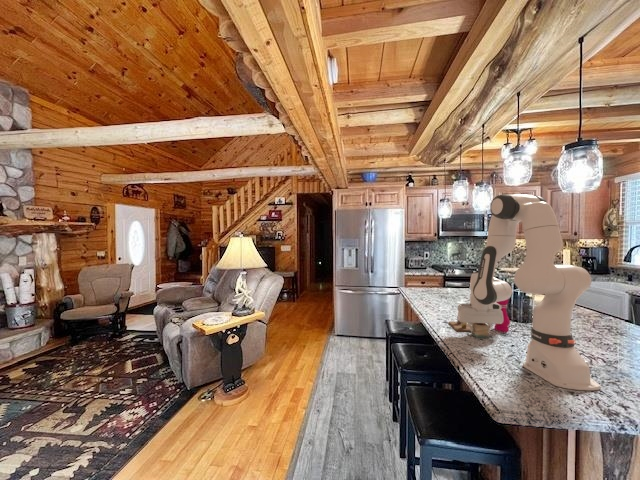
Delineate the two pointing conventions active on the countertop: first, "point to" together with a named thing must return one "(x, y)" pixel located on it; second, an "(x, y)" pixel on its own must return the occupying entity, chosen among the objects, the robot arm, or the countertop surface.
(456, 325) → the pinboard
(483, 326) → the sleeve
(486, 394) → the countertop surface
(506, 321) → the pepper mill
